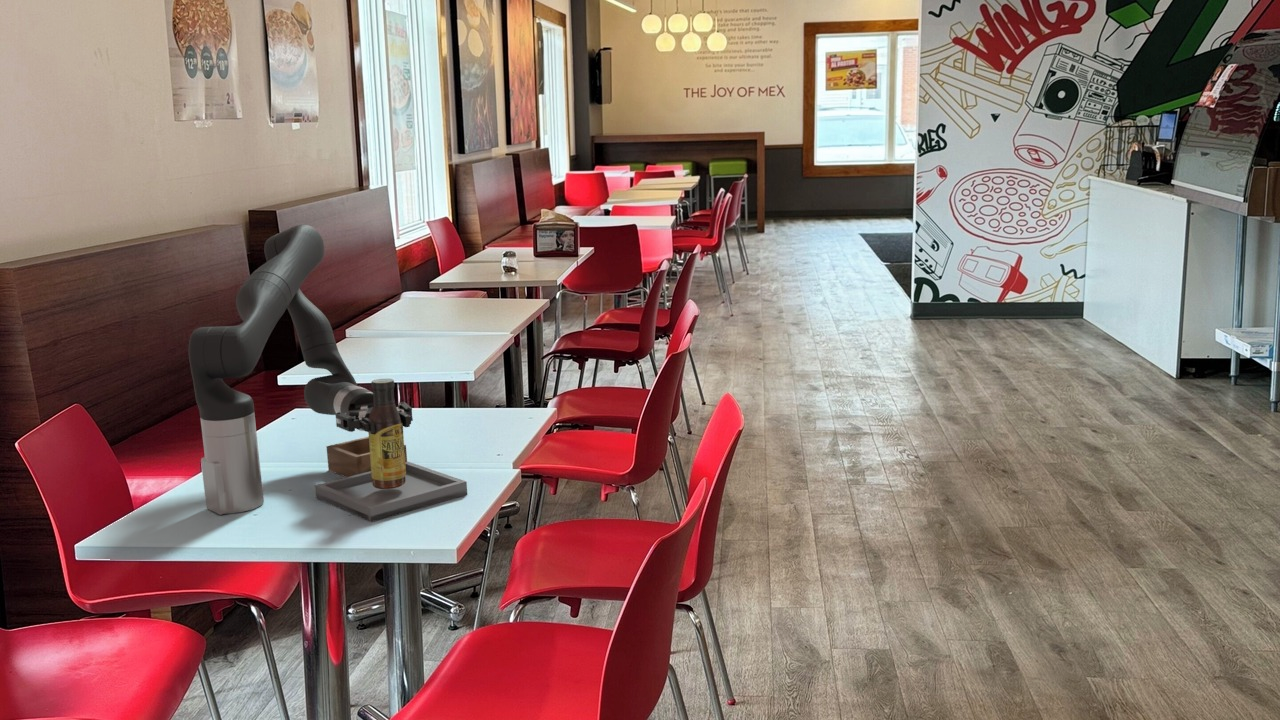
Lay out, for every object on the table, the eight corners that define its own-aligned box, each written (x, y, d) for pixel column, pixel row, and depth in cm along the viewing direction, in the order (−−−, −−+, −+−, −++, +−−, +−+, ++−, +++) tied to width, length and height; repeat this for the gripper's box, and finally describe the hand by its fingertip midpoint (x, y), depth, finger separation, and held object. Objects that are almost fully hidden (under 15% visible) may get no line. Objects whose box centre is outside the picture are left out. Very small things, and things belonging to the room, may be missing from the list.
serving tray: (371, 522, 196) (370, 508, 196) (316, 498, 211) (314, 485, 210) (467, 494, 210) (466, 481, 209) (409, 473, 224) (408, 461, 224)
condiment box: (358, 481, 220) (356, 457, 219) (328, 470, 229) (326, 446, 228) (407, 469, 227) (405, 445, 226) (376, 458, 236) (374, 435, 235)
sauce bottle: (387, 493, 205) (377, 386, 201) (365, 487, 209) (355, 382, 205) (415, 482, 211) (406, 378, 206) (392, 477, 214) (383, 375, 210)
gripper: (320, 394, 215) (350, 411, 201) (392, 382, 222) (426, 398, 208) (323, 432, 216) (353, 451, 202) (395, 420, 224) (429, 437, 210)
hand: (390, 424), depth 205 cm, fingers closed on sauce bottle, 6 cm apart
